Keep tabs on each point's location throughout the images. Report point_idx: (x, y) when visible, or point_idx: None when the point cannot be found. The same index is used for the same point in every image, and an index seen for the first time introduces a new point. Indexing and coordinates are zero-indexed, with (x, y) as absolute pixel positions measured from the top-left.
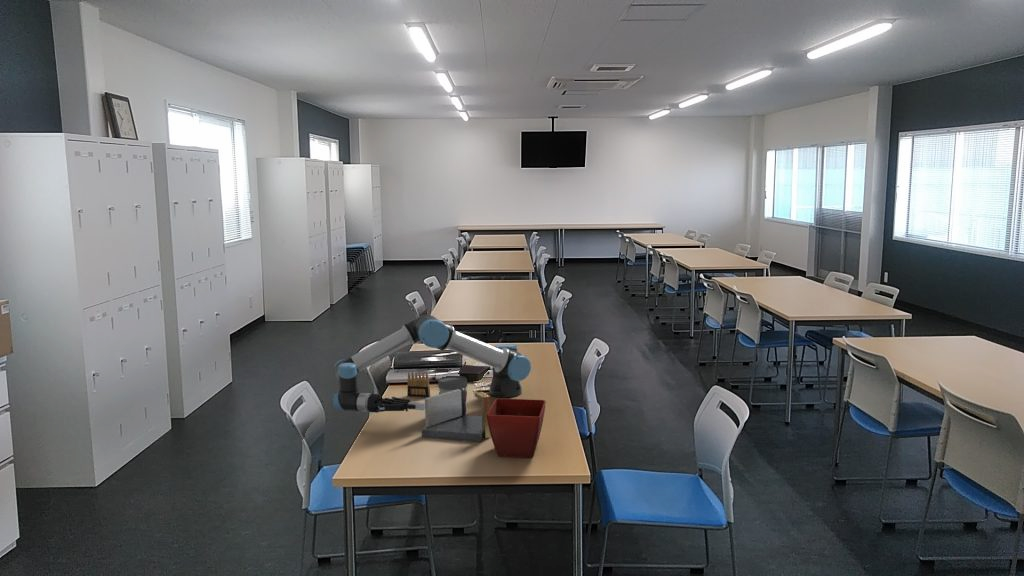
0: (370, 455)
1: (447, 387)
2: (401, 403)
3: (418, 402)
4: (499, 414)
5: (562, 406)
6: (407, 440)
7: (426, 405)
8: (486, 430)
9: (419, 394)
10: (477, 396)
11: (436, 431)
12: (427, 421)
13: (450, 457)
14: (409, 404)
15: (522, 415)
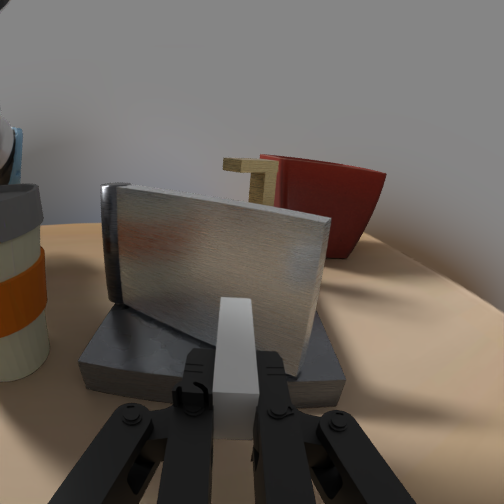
0: None
1: (27, 218)
2: (297, 457)
3: (223, 325)
4: (283, 195)
5: (63, 224)
6: (401, 436)
7: (323, 261)
8: None
9: None
10: (254, 167)
11: (326, 335)
12: (307, 346)
13: (409, 301)
14: (259, 393)
15: None
